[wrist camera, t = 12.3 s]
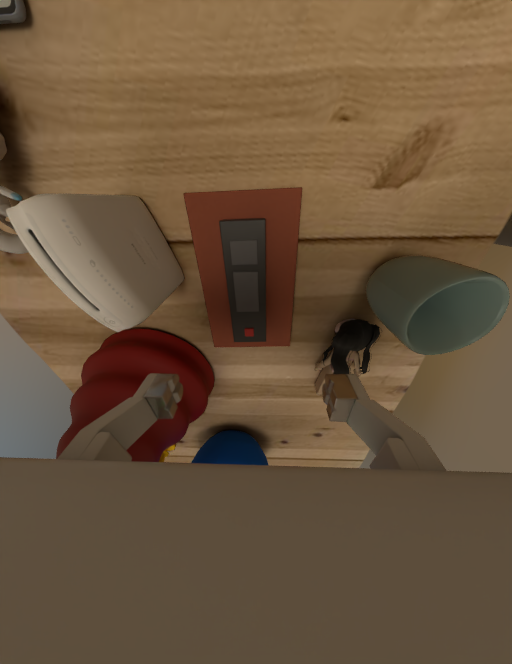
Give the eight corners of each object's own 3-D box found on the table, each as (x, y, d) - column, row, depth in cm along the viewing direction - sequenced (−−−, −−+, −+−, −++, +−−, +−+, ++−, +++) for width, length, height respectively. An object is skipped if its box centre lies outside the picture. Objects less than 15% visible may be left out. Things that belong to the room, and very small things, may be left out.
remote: (222, 219, 21) (218, 221, 19) (265, 217, 20) (265, 219, 18) (235, 333, 29) (233, 343, 27) (265, 333, 29) (266, 343, 27)
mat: (301, 187, 19) (302, 187, 19) (289, 344, 31) (289, 346, 30) (184, 193, 20) (183, 193, 19) (215, 345, 31) (214, 347, 31)
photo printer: (191, 281, 25) (142, 335, 15) (163, 291, 26) (99, 348, 16) (141, 188, 20) (10, 173, 9) (108, 204, 21) (-44, 207, 10)
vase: (191, 449, 51) (124, 681, 26) (205, 411, 41) (122, 723, 17) (255, 462, 54) (250, 678, 30) (282, 429, 45) (309, 712, 20)
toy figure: (348, 383, 36) (379, 314, 27) (357, 414, 31) (400, 342, 22) (309, 378, 36) (326, 310, 27) (311, 408, 31) (334, 336, 22)
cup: (351, 266, 24) (401, 300, 15) (423, 235, 22) (524, 256, 13) (361, 316, 27) (404, 365, 19) (422, 294, 25) (501, 339, 17)
